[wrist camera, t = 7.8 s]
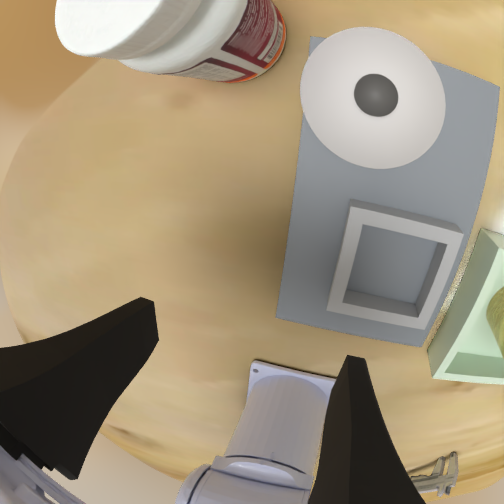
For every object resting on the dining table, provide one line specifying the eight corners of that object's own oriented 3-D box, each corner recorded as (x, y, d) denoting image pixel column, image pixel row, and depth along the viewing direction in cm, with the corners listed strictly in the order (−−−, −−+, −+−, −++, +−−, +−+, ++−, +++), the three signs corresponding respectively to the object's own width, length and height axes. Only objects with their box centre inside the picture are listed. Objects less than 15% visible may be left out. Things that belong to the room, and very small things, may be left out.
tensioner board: (419, 336, 20) (425, 373, 16) (279, 307, 22) (265, 341, 19) (491, 80, 11) (521, 76, 8) (313, 33, 13) (304, 14, 10)
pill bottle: (253, -20, 13) (148, -114, 3) (308, 51, 14) (245, -35, 4) (175, 33, 15) (31, 4, 6) (222, 103, 17) (78, 111, 7)
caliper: (454, 448, 25) (456, 490, 19) (457, 450, 25) (459, 491, 19) (337, 489, 35) (329, 522, 30) (341, 491, 35) (334, 523, 30)
